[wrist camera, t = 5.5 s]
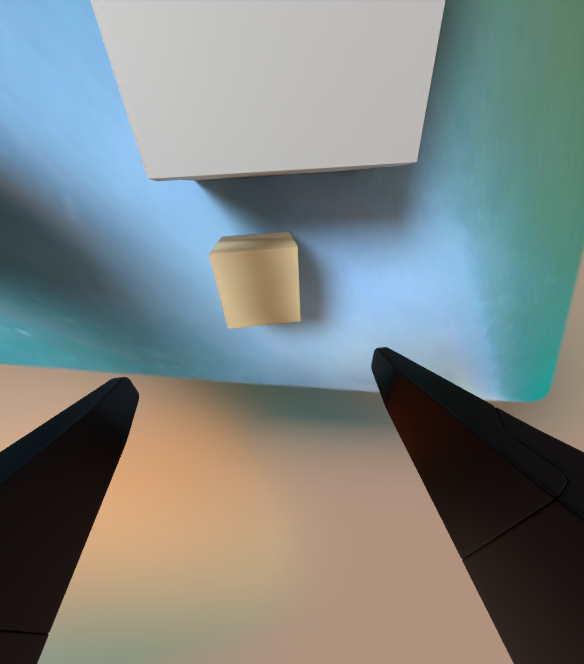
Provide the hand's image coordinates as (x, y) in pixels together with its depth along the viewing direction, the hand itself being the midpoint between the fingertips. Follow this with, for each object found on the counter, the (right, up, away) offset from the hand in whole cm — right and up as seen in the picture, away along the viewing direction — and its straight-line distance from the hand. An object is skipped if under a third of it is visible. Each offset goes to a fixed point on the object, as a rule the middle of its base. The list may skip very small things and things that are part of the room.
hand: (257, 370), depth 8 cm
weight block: (-1, +7, +10) cm, 12 cm away
